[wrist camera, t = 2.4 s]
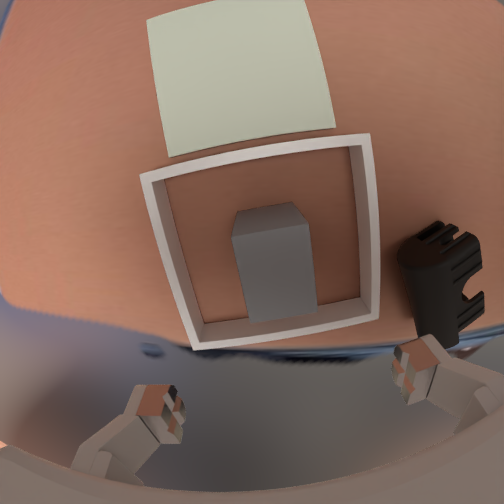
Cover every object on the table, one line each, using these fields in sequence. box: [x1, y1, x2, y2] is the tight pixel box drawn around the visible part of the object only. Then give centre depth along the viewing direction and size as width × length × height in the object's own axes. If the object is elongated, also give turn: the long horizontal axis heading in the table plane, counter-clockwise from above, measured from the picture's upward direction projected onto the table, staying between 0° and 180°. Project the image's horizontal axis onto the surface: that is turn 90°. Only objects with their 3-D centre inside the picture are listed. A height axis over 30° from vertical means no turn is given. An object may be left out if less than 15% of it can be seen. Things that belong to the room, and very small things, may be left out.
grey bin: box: [139, 133, 380, 350], centre depth 22 cm, size 17×16×3 cm
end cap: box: [397, 221, 485, 349], centre depth 21 cm, size 10×7×7 cm
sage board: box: [146, 0, 336, 157], centre depth 18 cm, size 13×13×1 cm
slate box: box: [231, 202, 318, 323], centre depth 20 cm, size 4×6×7 cm
